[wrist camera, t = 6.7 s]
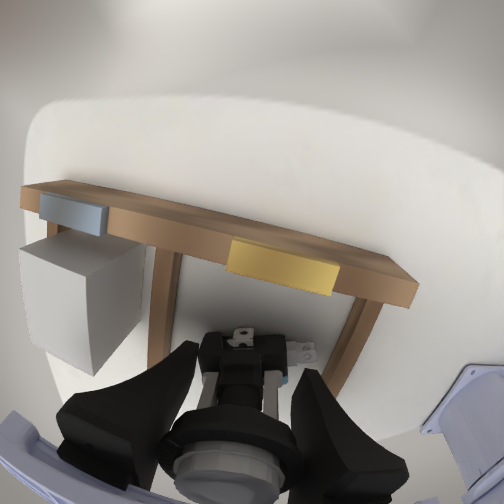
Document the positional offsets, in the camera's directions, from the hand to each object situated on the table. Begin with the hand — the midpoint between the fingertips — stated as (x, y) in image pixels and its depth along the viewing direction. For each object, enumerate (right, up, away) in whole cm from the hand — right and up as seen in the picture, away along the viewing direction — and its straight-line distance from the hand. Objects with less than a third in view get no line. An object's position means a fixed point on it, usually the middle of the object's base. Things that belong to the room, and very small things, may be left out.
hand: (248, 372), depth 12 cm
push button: (0, 0, +4) cm, 4 cm away
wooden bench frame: (-3, +2, +4) cm, 6 cm away
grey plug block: (-9, +4, +4) cm, 10 cm away
